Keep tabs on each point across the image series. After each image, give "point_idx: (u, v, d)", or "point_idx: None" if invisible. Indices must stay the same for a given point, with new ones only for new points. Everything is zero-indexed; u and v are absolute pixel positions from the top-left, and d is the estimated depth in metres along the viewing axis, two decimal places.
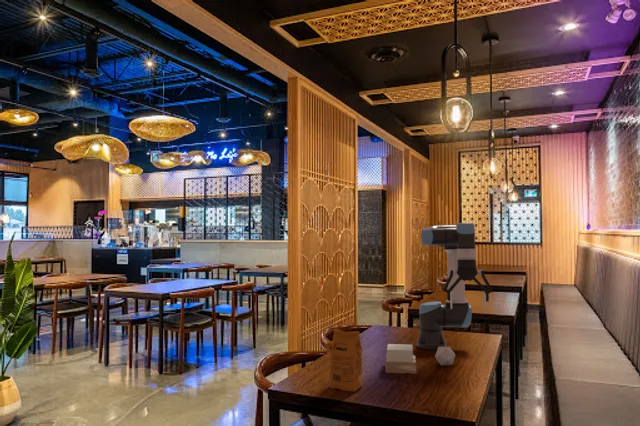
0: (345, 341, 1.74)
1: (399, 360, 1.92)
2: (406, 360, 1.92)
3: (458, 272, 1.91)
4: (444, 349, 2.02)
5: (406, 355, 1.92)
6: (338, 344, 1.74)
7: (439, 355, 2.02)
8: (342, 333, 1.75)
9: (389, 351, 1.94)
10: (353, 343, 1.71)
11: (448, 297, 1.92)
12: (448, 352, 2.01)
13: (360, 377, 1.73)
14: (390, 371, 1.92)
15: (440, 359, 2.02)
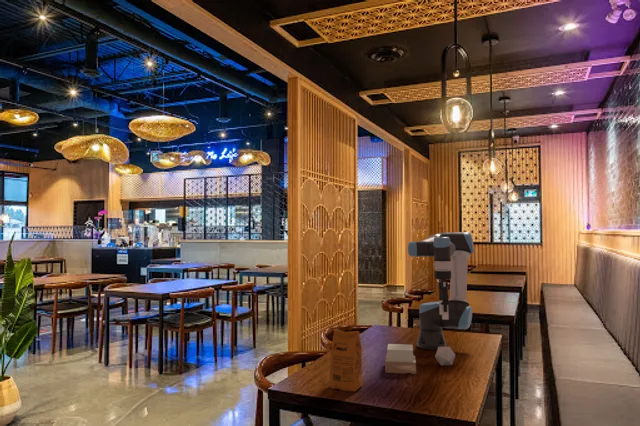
0: (345, 341, 1.74)
1: (399, 360, 1.93)
2: (406, 360, 1.92)
3: None
4: (444, 349, 2.02)
5: (407, 355, 1.92)
6: (338, 344, 1.74)
7: (439, 355, 2.02)
8: (342, 333, 1.75)
9: (389, 351, 1.94)
10: (353, 343, 1.71)
11: (440, 304, 2.13)
12: (448, 352, 2.01)
13: (360, 377, 1.73)
14: (390, 371, 1.92)
15: (440, 359, 2.02)
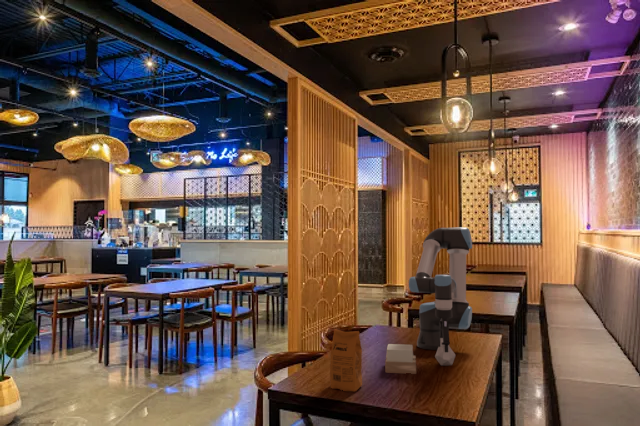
0: (345, 341, 1.74)
1: (399, 360, 1.93)
2: (406, 360, 1.92)
3: None
4: None
5: (406, 355, 1.92)
6: (338, 344, 1.74)
7: (439, 355, 2.02)
8: (342, 333, 1.75)
9: (389, 351, 1.94)
10: (353, 343, 1.71)
11: None
12: None
13: (360, 377, 1.73)
14: (390, 371, 1.92)
15: (440, 359, 2.02)
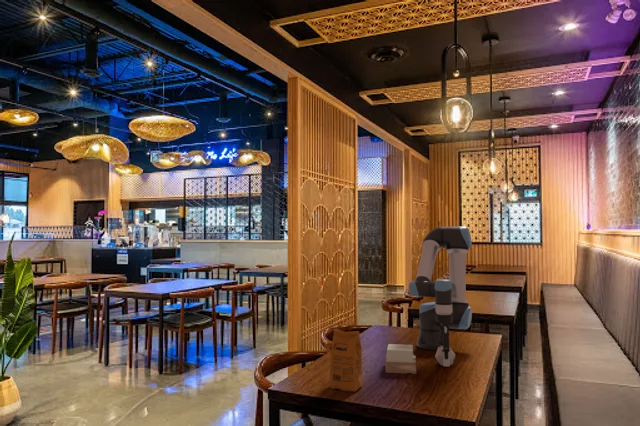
0: (345, 341, 1.74)
1: (399, 360, 1.92)
2: (406, 360, 1.92)
3: None
4: None
5: (406, 356, 1.92)
6: (338, 344, 1.74)
7: (439, 355, 2.02)
8: (342, 333, 1.75)
9: (389, 351, 1.93)
10: (353, 343, 1.71)
11: None
12: None
13: (360, 377, 1.73)
14: (390, 371, 1.92)
15: (440, 359, 2.02)
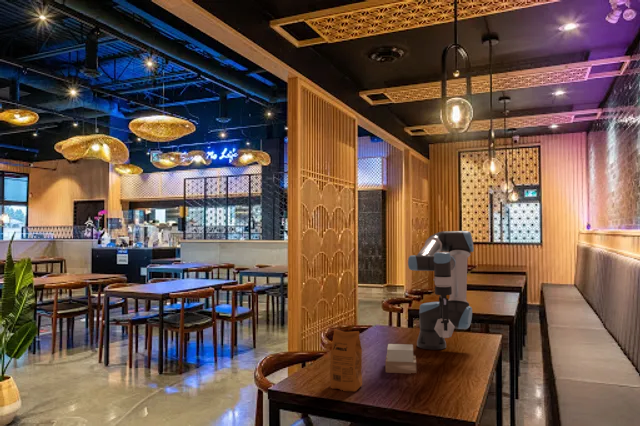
0: (345, 342, 1.74)
1: (399, 360, 1.93)
2: (406, 360, 1.92)
3: (440, 297, 2.09)
4: None
5: (407, 355, 1.92)
6: (338, 344, 1.74)
7: (438, 327, 2.03)
8: (342, 333, 1.75)
9: (389, 351, 1.94)
10: (353, 343, 1.71)
11: None
12: None
13: (360, 377, 1.73)
14: (390, 371, 1.93)
15: (439, 331, 2.03)
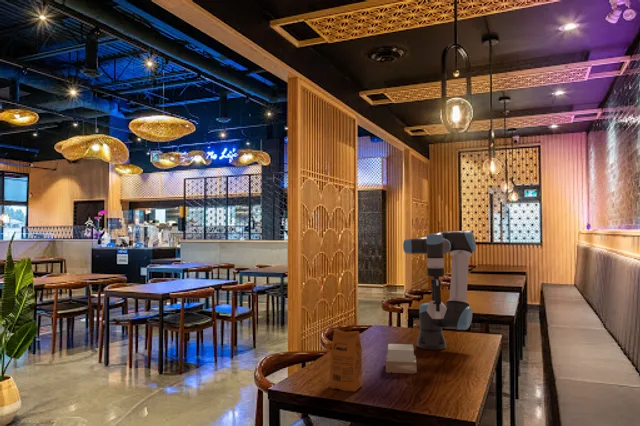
0: (345, 341, 1.74)
1: (400, 360, 1.93)
2: (407, 360, 1.92)
3: None
4: None
5: (407, 355, 1.92)
6: (338, 344, 1.74)
7: (431, 308, 2.02)
8: (342, 333, 1.75)
9: (390, 351, 1.94)
10: (353, 343, 1.71)
11: None
12: None
13: (360, 377, 1.73)
14: (390, 371, 1.93)
15: (432, 312, 2.02)
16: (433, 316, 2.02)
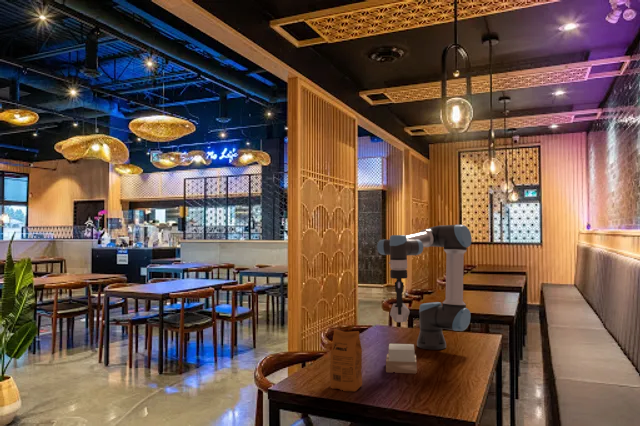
0: (345, 341, 1.74)
1: (401, 360, 1.93)
2: (408, 360, 1.92)
3: None
4: None
5: (408, 355, 1.92)
6: (338, 344, 1.74)
7: (393, 311, 1.97)
8: (342, 333, 1.75)
9: (391, 351, 1.94)
10: (353, 343, 1.71)
11: None
12: None
13: (360, 377, 1.73)
14: (391, 370, 1.93)
15: (394, 315, 1.97)
16: (395, 319, 1.97)
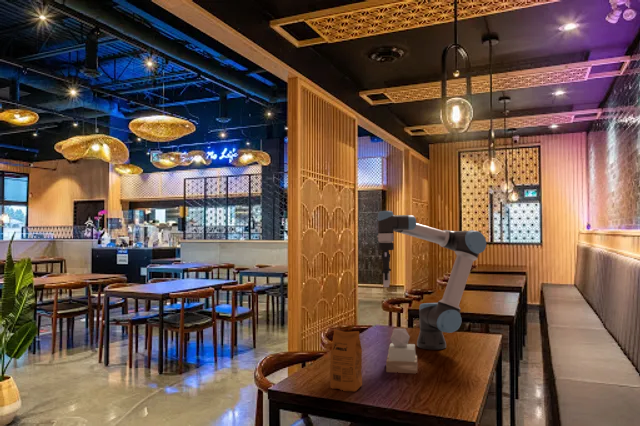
0: (345, 341, 1.74)
1: (400, 359, 1.94)
2: (407, 359, 1.93)
3: None
4: (398, 331, 1.98)
5: (408, 355, 1.93)
6: (338, 344, 1.74)
7: (393, 337, 1.97)
8: (342, 333, 1.75)
9: (391, 350, 1.95)
10: (353, 343, 1.71)
11: None
12: (402, 334, 1.96)
13: (360, 377, 1.73)
14: (391, 370, 1.93)
15: (394, 341, 1.97)
16: (395, 345, 1.97)
